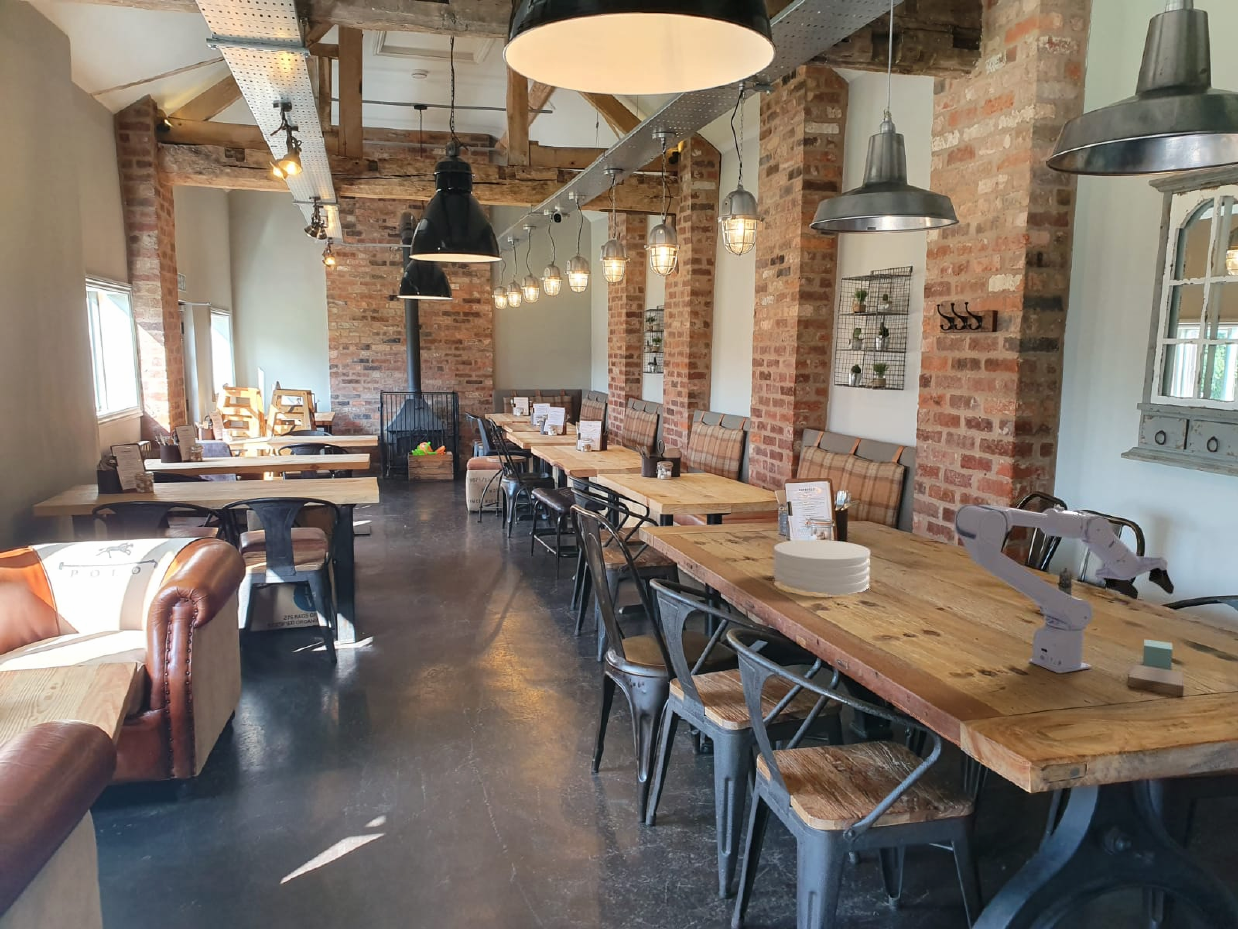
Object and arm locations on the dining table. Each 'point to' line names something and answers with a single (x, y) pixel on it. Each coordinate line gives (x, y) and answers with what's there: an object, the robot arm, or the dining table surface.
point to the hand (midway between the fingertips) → (1153, 593)
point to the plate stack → (822, 566)
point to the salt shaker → (1065, 582)
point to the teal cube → (1157, 654)
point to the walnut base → (1156, 679)
